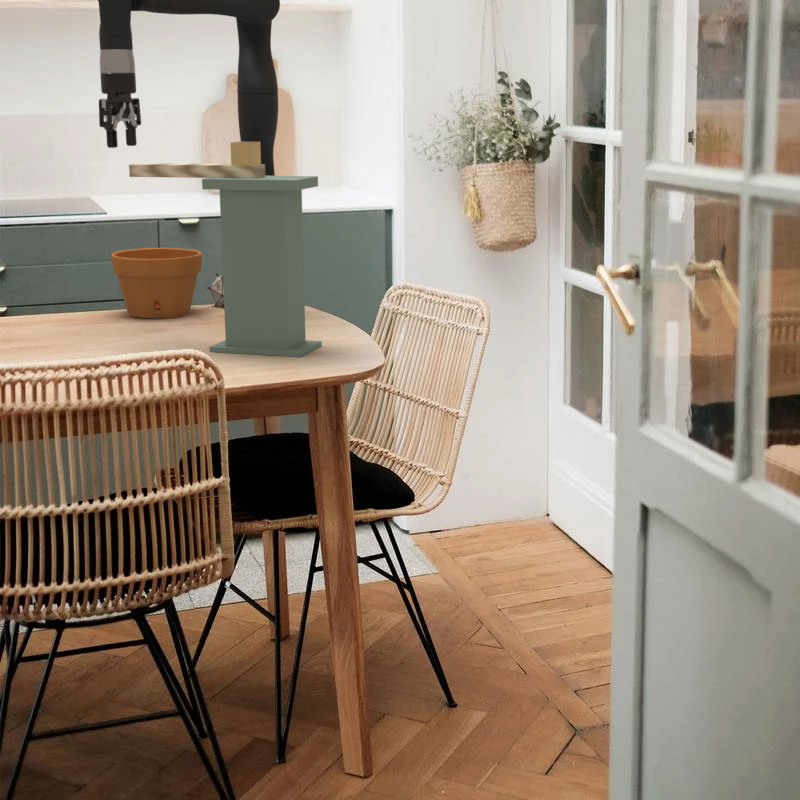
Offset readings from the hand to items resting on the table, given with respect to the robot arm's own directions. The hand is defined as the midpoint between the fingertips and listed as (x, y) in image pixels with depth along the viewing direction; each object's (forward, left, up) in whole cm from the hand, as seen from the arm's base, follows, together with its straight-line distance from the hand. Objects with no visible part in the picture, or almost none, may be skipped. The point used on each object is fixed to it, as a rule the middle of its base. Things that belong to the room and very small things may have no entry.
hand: (122, 146), depth 288 cm
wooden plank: (-6, +32, -5) cm, 33 cm away
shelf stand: (-16, +42, -40) cm, 60 cm away
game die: (-28, -14, -40) cm, 51 cm away
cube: (-14, +40, -3) cm, 42 cm away
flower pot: (-10, -11, -40) cm, 43 cm away
